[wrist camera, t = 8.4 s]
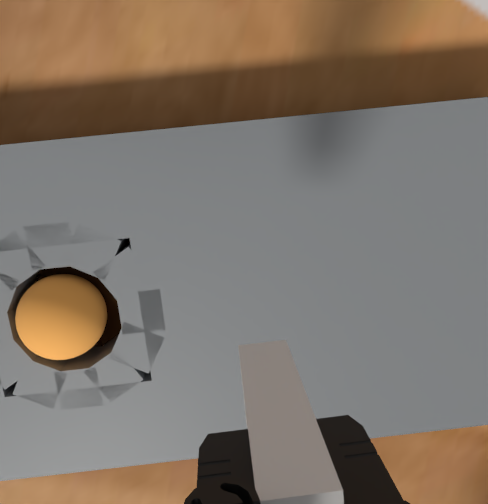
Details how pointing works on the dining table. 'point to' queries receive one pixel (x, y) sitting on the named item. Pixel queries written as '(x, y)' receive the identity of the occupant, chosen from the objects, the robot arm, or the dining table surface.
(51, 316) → the ball
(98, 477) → the dining table surface
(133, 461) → the plate
